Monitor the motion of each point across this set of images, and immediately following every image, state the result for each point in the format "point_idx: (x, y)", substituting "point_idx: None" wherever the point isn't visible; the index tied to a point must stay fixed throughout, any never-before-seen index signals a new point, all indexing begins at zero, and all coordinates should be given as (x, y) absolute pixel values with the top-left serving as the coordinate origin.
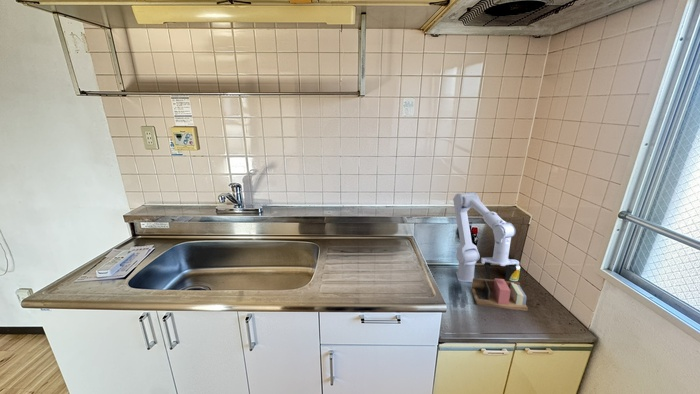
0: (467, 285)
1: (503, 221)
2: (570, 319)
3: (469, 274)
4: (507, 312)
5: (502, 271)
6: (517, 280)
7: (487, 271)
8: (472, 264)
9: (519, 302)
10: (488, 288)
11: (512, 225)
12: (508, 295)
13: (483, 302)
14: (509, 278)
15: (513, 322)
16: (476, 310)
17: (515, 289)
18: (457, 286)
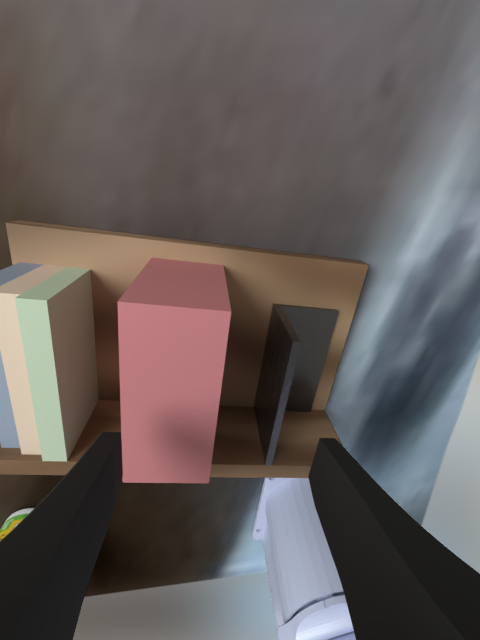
0: None
1: None
2: None
3: (315, 516)
4: (180, 190)
5: None
6: (13, 514)
7: (444, 548)
8: (323, 610)
9: (58, 272)
10: (295, 364)
11: None
12: (145, 283)
13: (323, 272)
14: (78, 462)
15: (177, 51)
16: (391, 200)
17: (49, 373)
18: (380, 427)
